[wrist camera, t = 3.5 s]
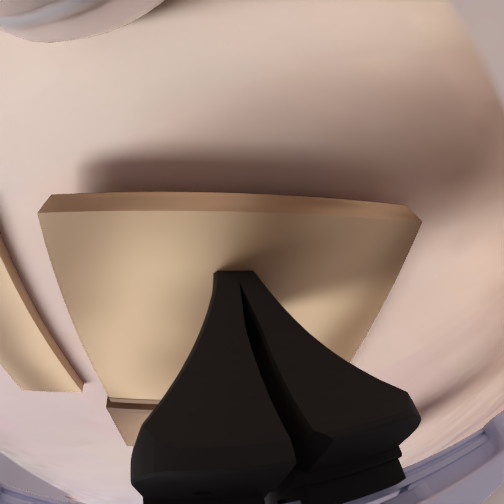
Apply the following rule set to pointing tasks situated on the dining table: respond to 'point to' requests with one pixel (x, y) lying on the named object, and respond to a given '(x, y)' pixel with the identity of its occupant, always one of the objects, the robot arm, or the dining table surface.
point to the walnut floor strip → (129, 418)
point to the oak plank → (213, 271)
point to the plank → (29, 338)
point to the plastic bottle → (69, 17)
